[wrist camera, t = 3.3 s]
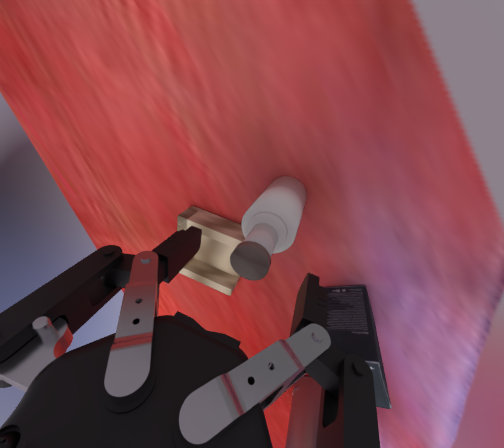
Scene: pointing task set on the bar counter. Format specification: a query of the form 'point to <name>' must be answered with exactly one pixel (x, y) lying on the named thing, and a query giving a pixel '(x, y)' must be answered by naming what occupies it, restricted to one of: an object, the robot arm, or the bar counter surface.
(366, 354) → the box
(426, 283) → the bar counter surface
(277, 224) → the bottle
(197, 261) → the rest
